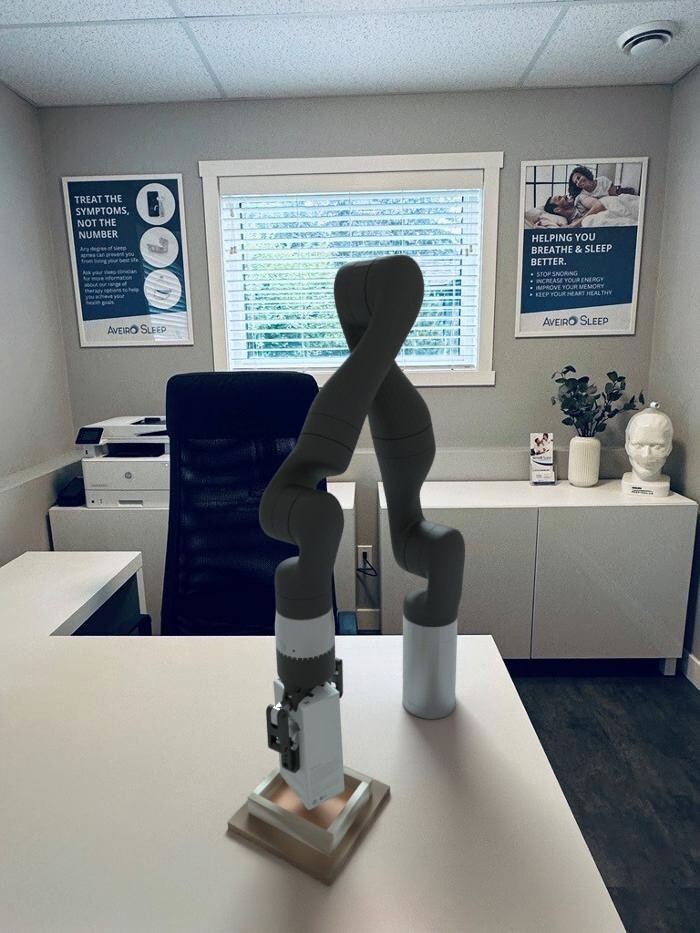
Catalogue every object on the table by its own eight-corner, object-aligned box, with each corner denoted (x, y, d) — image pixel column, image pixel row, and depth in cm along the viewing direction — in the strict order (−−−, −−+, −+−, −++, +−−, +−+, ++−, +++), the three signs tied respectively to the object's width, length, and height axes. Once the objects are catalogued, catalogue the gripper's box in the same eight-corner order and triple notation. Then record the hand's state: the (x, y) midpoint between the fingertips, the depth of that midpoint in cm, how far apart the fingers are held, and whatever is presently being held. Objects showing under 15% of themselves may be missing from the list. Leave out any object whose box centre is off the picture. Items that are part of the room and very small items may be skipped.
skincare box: (345, 792, 73) (344, 693, 70) (305, 814, 70) (303, 710, 66) (312, 754, 80) (311, 662, 76) (275, 772, 76) (272, 677, 73)
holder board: (299, 751, 86) (298, 731, 86) (390, 792, 78) (390, 771, 77) (227, 827, 73) (226, 805, 72) (328, 886, 65) (328, 862, 64)
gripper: (295, 677, 62) (300, 799, 66) (359, 621, 74) (360, 727, 78) (244, 658, 66) (252, 774, 69) (313, 608, 78) (316, 710, 81)
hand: (309, 749), depth 73 cm, fingers closed on skincare box, 7 cm apart
